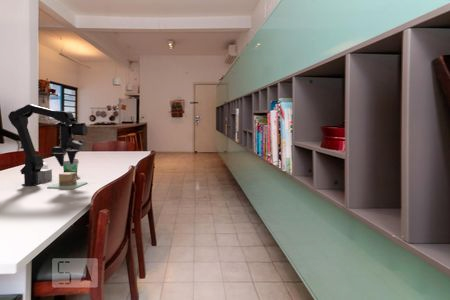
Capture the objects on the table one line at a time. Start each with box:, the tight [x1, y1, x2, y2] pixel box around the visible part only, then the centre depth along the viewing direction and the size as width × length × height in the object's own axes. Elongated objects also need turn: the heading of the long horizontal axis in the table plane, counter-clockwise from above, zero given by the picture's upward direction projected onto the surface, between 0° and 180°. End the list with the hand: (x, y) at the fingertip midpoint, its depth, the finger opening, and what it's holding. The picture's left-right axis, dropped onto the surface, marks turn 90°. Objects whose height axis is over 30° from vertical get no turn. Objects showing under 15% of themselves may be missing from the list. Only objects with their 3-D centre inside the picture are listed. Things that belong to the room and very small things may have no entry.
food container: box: [62, 158, 79, 177], centre depth 193 cm, size 12×6×10 cm, turn 179°
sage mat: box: [46, 181, 88, 190], centre depth 166 cm, size 14×14×1 cm
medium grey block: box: [38, 168, 53, 182], centre depth 179 cm, size 6×6×6 cm
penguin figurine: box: [41, 161, 49, 169], centre depth 190 cm, size 6×8×12 cm
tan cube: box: [58, 172, 78, 186], centre depth 166 cm, size 6×6×6 cm
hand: (66, 165), depth 165 cm, fingers open, 9 cm apart
